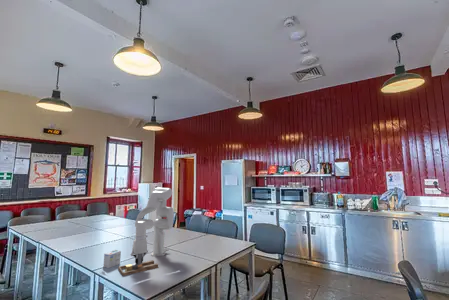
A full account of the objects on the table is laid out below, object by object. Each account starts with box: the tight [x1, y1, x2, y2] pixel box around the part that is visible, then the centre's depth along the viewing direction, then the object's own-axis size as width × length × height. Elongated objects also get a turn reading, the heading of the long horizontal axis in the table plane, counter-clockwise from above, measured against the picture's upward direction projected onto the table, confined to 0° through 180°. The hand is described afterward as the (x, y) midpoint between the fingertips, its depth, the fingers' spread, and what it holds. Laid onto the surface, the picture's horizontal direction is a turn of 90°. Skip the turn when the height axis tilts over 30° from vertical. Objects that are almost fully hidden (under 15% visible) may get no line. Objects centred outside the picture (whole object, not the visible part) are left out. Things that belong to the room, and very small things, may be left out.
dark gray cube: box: [130, 262, 138, 271], centre depth 169 cm, size 4×4×4 cm
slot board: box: [117, 259, 159, 277], centre depth 171 cm, size 26×14×3 cm, turn 127°
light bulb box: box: [102, 249, 122, 269], centre depth 177 cm, size 11×7×11 cm, turn 157°
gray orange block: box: [138, 253, 142, 267], centre depth 172 cm, size 3×5×11 cm, turn 38°
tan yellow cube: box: [124, 263, 132, 272], centre depth 166 cm, size 4×4×4 cm
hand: (139, 262), depth 171 cm, fingers closed on gray orange block, 2 cm apart
